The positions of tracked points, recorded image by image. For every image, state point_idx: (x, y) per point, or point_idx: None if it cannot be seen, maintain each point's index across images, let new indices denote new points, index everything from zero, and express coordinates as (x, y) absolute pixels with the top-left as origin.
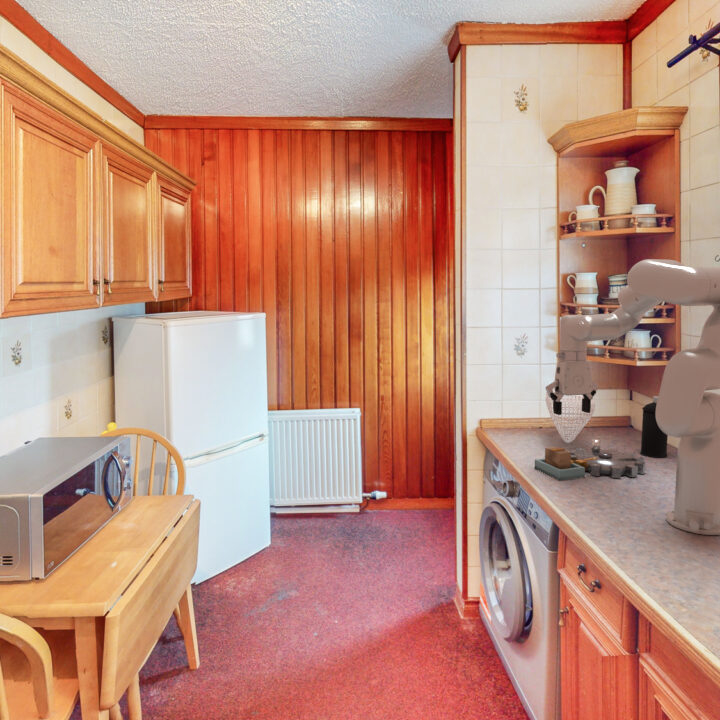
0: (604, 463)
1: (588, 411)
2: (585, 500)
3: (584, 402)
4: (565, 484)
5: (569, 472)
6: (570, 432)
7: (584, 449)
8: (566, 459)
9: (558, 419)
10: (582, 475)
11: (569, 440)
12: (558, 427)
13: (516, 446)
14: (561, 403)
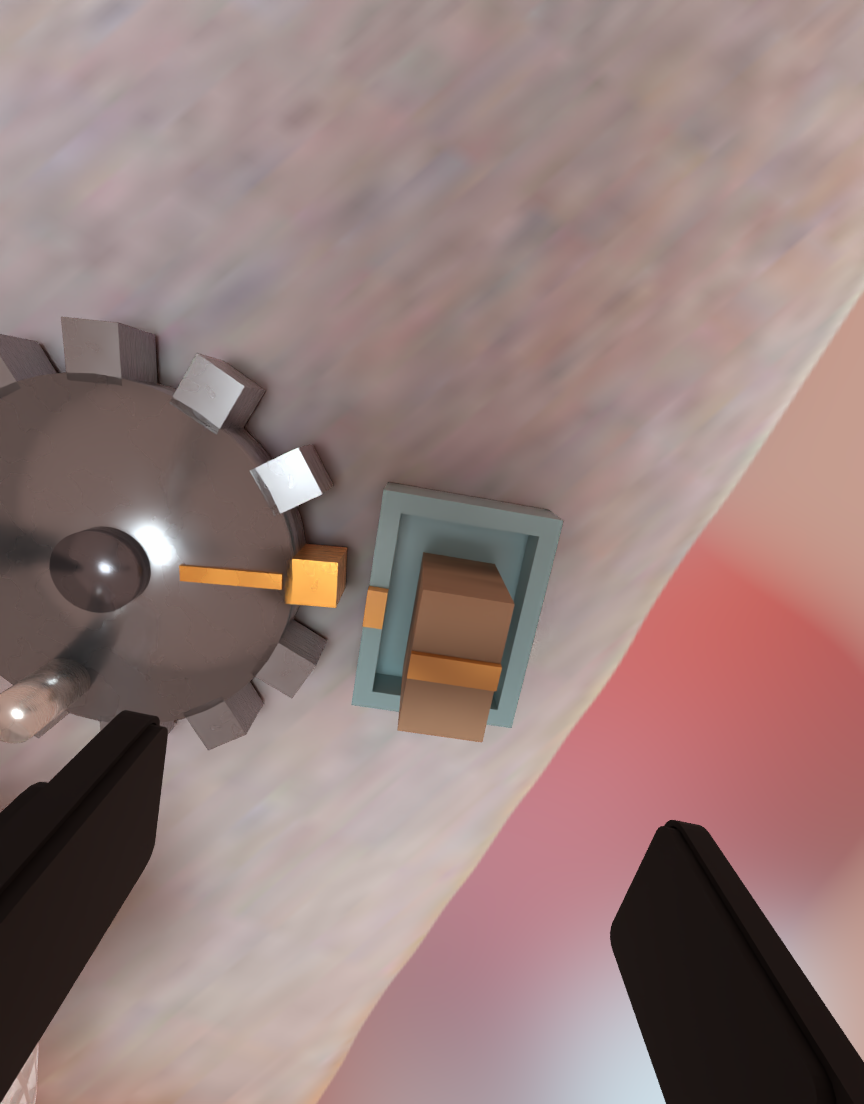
0: (218, 476)
1: (144, 732)
2: (692, 214)
3: (38, 981)
4: (566, 454)
5: (491, 506)
6: None
7: None
8: (455, 580)
9: (26, 1063)
10: (401, 486)
11: None
12: None
13: (307, 965)
14: (803, 1054)
